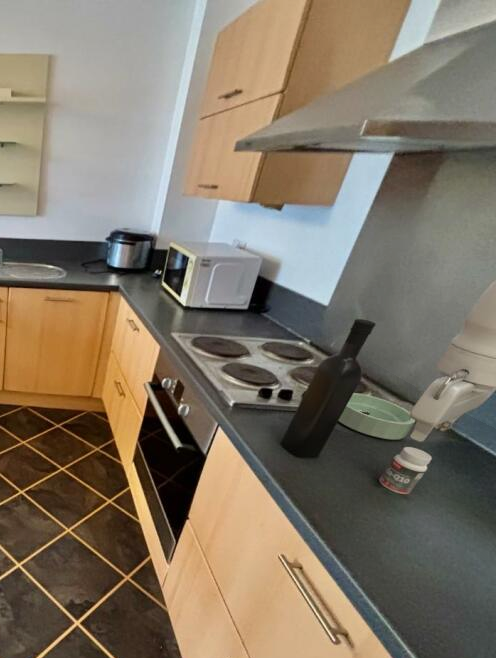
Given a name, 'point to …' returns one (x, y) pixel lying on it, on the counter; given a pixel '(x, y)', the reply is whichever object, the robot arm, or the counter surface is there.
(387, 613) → the counter surface
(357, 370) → the wine bottle
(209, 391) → the counter surface
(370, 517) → the counter surface
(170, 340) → the counter surface
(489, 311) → the robot arm
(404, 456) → the pill bottle
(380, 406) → the bowl
